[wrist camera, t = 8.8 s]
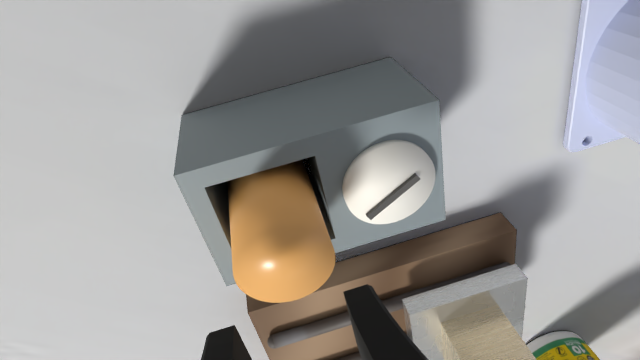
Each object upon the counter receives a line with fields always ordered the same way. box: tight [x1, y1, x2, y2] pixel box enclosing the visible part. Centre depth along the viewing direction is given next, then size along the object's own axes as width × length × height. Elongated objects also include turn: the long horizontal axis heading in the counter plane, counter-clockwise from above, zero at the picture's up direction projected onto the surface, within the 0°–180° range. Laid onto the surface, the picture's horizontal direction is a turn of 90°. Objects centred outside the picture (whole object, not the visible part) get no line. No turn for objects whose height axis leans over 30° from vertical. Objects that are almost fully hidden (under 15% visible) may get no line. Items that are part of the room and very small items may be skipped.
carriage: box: [402, 264, 536, 360], centre depth 22 cm, size 6×6×4 cm
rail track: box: [246, 213, 517, 360], centre depth 24 cm, size 14×8×2 cm, turn 102°
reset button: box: [227, 160, 335, 303], centre depth 15 cm, size 3×3×5 cm
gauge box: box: [174, 57, 446, 286], centre depth 17 cm, size 8×5×5 cm, turn 102°
